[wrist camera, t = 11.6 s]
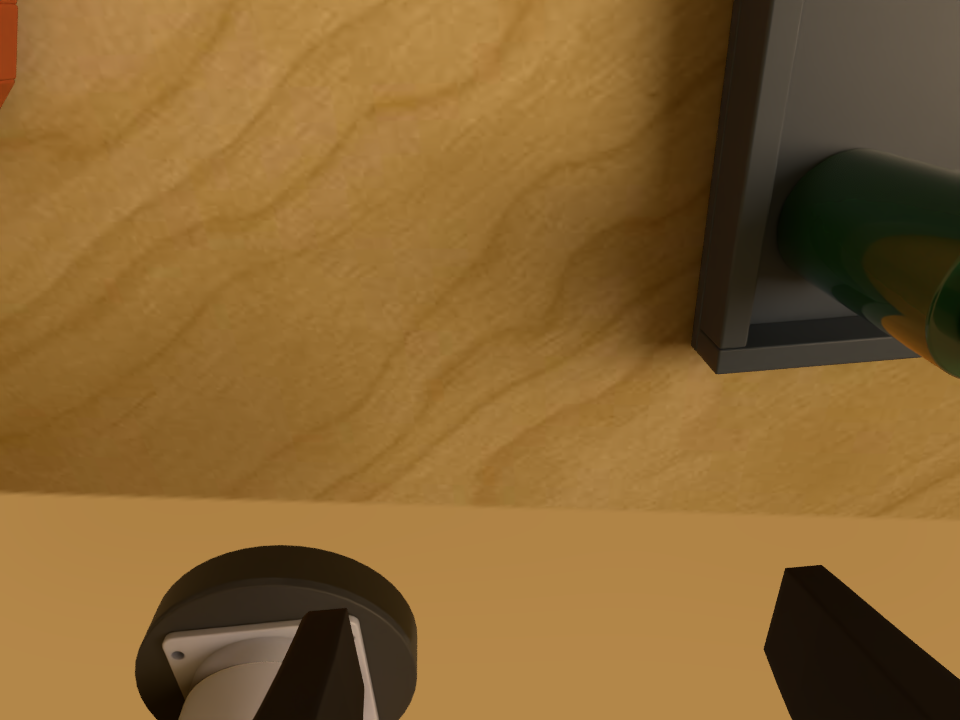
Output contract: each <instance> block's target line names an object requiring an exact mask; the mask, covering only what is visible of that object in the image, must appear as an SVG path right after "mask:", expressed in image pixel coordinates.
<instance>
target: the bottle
mask: <svg viewBox="0 0 960 720" xmlns="http://www.w3.org/2000/svg"><path fill="white" fill-rule="evenodd" d="M777 243H778V248H779V252H780V255H781V257H782V259H783V261H784V263H785V264H786V265H787V267H788V268H789V269H790V270H791V271H792V272H793V273H794V274H796V275H797V276H799V277H800V278H802V279H804V280H805V281H807V282H808V283H810V284H811V285H813V286H814V287H816V288H817V289H819V290H820V291H822V292H823V293H825V294H827V295H828V296H830V297H831V298H833V299H834V300H836V301H837V302H839V303H840V304H842V305H843V306H845V307H846V308H848V309H849V310H851V311H853V312H854V313H856V314H857V315H859V316H860V317H862V318H863V319H865V320H866V321H868V322H869V323H871V324H872V325H874V326H876V327H877V328H879V329H880V330H882V331H883V332H885V333H886V334H888V335H889V336H891V337H892V338H894V339H895V340H897V341H899V342H900V343H902V344H903V345H905V346H906V347H908V348H909V349H911V350H912V351H914V352H915V353H917V354H918V355H920V356H921V357H923V358H925V359H926V360H928V361H929V362H931V363H932V364H934V365H935V366H937V367H938V368H940V369H941V370H943V371H944V372H946V373H948V374H949V375H951V376H953V377H956V378H958V379H960V171H958V170H954V169H950V168H946V167H942V166H939V165H935V164H931V163H927V162H923V161H919V160H916V159H912V158H908V157H904V156H900V155H896V154H893V153H889V152H885V151H881V150H877V149H871V148H858V149H851V150H847V151H844V152H841V153H838V154H836V155H833V156H831V157H829V158H827V159H825V160H823V161H822V162H820V163H819V164H817V165H816V166H814V167H813V168H812V169H811V170H810V171H808V172H807V173H806V174H805V175H804V176H803V177H802V178H801V179H800V180H799V182H798V183H797V184H796V185H795V187H794V188H793V189H792V191H791V192H790V194H789V196H788V197H787V199H786V201H785V203H784V205H783V208H782V210H781V213H780V217H779V221H778V227H777Z"/></svg>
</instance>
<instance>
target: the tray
mask: <svg viewBox="0 0 960 720" xmlns="http://www.w3.org/2000/svg"><path fill="white" fill-rule="evenodd" d="M858 148H871V149H877V150H881V151H885V152H889V153H893V154H896V155H900V156H904V157H908V158H912V159H916V160H919V161H923V162H927V163H931V164H935V165H939V166H942V167H946V168H950V169H954V170H958V171H960V0H734V4H733V12H732V20H731V28H730V36H729V44H728V52H727V60H726V68H725V77H724V85H723V93H722V101H721V109H720V117H719V125H718V133H717V141H716V149H715V157H714V165H713V173H712V181H711V189H710V198H709V206H708V214H707V222H706V230H705V238H704V246H703V254H702V262H701V270H700V278H699V286H698V294H697V302H696V310H695V319H694V327H693V335H692V343H691V346H692V347H693V348H694V350H695V351H697V353H698V354H699V355H700V356H701V357H702V358H703V360H704V361H705V362H706V363H707V364H708V365H709V367H710V368H711V369H712V370H713V371H714V372H715V374H727V373H739V372H751V371H763V370H775V369H787V368H799V367H810V366H822V365H834V364H846V363H858V362H870V361H882V360H894V359H906V358H918V357H921V356H920V355H918V354H917V353H915V352H914V351H912V350H911V349H909V348H908V347H906V346H905V345H903V344H902V343H900V342H899V341H897V340H895V339H894V338H892V337H891V336H889V335H888V334H886V333H885V332H883V331H882V330H880V329H879V328H877V327H876V326H874V325H872V324H871V323H869V322H868V321H866V320H865V319H863V318H862V317H860V316H859V315H857V314H856V313H854V312H853V311H851V310H849V309H848V308H846V307H845V306H843V305H842V304H840V303H839V302H837V301H836V300H834V299H833V298H831V297H830V296H828V295H827V294H825V293H823V292H822V291H820V290H819V289H817V288H816V287H814V286H813V285H811V284H810V283H808V282H807V281H805V280H804V279H802V278H800V277H799V276H797V275H796V274H794V273H793V272H792V271H791V270H790V269H789V268H788V267H787V265H786V264H785V263H784V261H783V259H782V257H781V255H780V252H779V248H778V243H777V227H778V221H779V217H780V213H781V210H782V208H783V205H784V203H785V201H786V199H787V197H788V196H789V194H790V192H791V191H792V189H793V188H794V187H795V185H796V184H797V183H798V182H799V180H800V179H801V178H802V177H803V176H804V175H805V174H806V173H807V172H808V171H810V170H811V169H812V168H813V167H814V166H816V165H817V164H819V163H820V162H822V161H823V160H825V159H827V158H829V157H831V156H833V155H836V154H838V153H841V152H844V151H847V150H851V149H858Z"/></svg>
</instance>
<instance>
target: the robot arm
mask: <svg viewBox="0 0 960 720" xmlns="http://www.w3.org/2000/svg"><path fill="white" fill-rule="evenodd" d="M162 648H163V650H164V652H165V655H166V657H167V659H168V662H169V664H170V666H171V669H172V671H173V673H174V676H175V678H176V680H177V683H178V685H179V687H180V689H181V692H182V694H183V696H184V699H185V703H184V705H183V708H182V711H181V714H180V717H179V719H178V720H379V717H378V712H377V707H376V702H375V697H374V692H373V687H372V682H371V677H370V672H369V668H368V663H367V658H366V653H365V648H364V643H363V638H362V633H361V628H360V623H359V620H358V619H357V618H356V617H355V616H352V615H348V611H347V608H342V609H331V610H320V611H309V612H308V613H307V614H306V615H305V616H304V617H303V618H302V619H298V620H288V621H278V622H268V623H258V624H248V625H238V626H228V627H218V628H208V629H198V630H188V631H178V632H172V633H169V634H167V635H166V637H165V639H164V641H163V643H162ZM764 651H765V654H766V656H767V659H768V662H769V664H770V667H771V670H772V672H773V674H774V677H775V680H776V683H777V685H778V688H779V690H780V692H781V694H782V697H783V699H784V701H785V704H786V707H787V709H788V711H789V714H790V716H791V718H792V720H960V679H959V678H957V677H956V676H955V675H953V674H952V673H951V672H950V671H949V670H947V669H946V668H945V667H944V666H942V665H941V664H940V663H939V662H937V661H936V660H935V659H934V658H933V657H931V656H930V655H929V654H928V653H926V652H925V651H924V650H923V649H922V648H920V647H919V646H918V645H917V644H915V643H914V642H913V641H912V640H911V639H909V638H908V637H907V636H906V635H905V634H903V633H902V632H901V631H900V630H899V629H897V628H896V627H895V626H894V625H893V624H891V623H890V622H889V621H888V620H886V619H885V618H884V617H883V616H882V615H881V614H880V613H878V612H877V611H876V610H875V609H874V608H872V607H871V606H870V605H869V604H867V602H865V601H864V600H863V599H862V598H860V597H859V596H858V595H857V594H856V593H855V592H853V591H852V590H851V589H850V588H849V587H847V586H846V585H845V584H844V583H843V582H841V581H840V580H839V579H838V578H837V577H836V576H834V575H833V574H832V573H831V572H829V571H828V570H827V569H826V568H825V567H823V566H822V565H816V566H804V567H794V568H785V571H784V575H783V579H782V582H781V586H780V590H779V594H778V597H777V601H776V605H775V609H774V613H773V617H772V620H771V624H770V628H769V631H768V635H767V638H766V642H765V646H764Z"/></svg>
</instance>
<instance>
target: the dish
mask: <svg viewBox="0 0 960 720" xmlns="http://www.w3.org/2000/svg"><path fill="white" fill-rule="evenodd" d="M16 3H17V0H0V108H1V107H2V105H3V103H4V101H5V99H6V97H7V96H8V94H9V92H10V90H11V88H12V87H13V85H14V83H15V80H14V79H15V78H16V64H17V26H18V7H17V5H16Z"/></svg>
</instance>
